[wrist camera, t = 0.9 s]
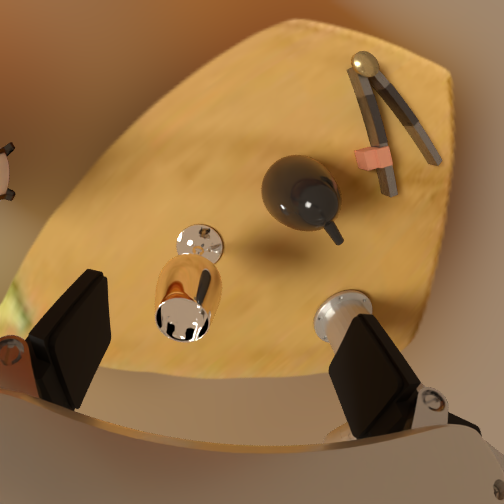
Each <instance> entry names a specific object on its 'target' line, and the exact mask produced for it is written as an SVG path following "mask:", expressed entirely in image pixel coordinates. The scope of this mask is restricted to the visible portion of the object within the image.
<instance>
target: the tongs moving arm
mask: <svg viewBox="0 0 504 504" xmlns="http://www.w3.org/2000/svg"><path fill="white" fill-rule="evenodd" d="M368 80H369V83H370V84H371V86H372V87H373V88H374V89H375V90H376V91H377V93H378V94H379V95H380V96H381V97H382V99H383V100H384V101H385V102H386V104H387V105H388V106H389V107H390V109H391V110H392V111H393V113H394V114H395V115H396V117H397V118H398V119H399V121H400V122H401V123H402V125H403V126H404V127H405V129H406V130H407V132H408V133H409V135H410V136H411V138H412V139H413V140H414V142H415V143H416V145H417V146H418V148H419V150H420V151H421V153H422V154H423V156H424V157H425V159H426V161H427V162H428V164H432V165H436V166H438V165H439V164H440V163H441V162H442V159H441V157H440V155H439V153H438V152H437V150H436V148H435V147H434V145H433V143H432V142H431V140H430V138H429V137H428V135H427V134H426V132H425V131H424V129H423V127H422V126H421V124H420V123H419V120H418V119H417V118H416V116H415V115H414V113H413V112H412V110H411V109H410V108H409V106H408V105H407V103H406V102H405V101H404V99H403V98H402V97H401V95H400V94H399V93H398V92H397V90H396V89H395V88H394V86H393V85H392V84H391V83H389V81H388V80H387V79H386V78H385V76H384V75H383V74H382V73H381V72H380V71H378V73H377V74H376V75H375V76H372V77H369V78H368Z"/></svg>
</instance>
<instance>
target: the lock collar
mask: <svg viewBox="0 0 504 504" xmlns="http://www.w3.org/2000/svg"><path fill="white" fill-rule="evenodd" d="M354 152H355V156H356V159H357V163H358V167H359V168H360V169H364V170H367V171H369V170H372V169H376V168H384V167H387V166H391V165H393V162H392V158H391V153H390V149H389V146H385V147H381V148H377V147H367V148H363V149H359V150H356V151H354Z"/></svg>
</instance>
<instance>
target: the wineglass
mask: <svg viewBox="0 0 504 504" xmlns="http://www.w3.org/2000/svg"><path fill="white" fill-rule="evenodd" d="M176 248H177V252H178V256H176V257H173V258H172V259H170V260H169V261H168V262H167V263H166V264H165V266H164V267H163V268H162V270H161V272H160V274H159V277H158V281H157V285H156V292H155V321H156V325H157V327H158V328H159V330H160V331H161V332H162V333H163V334H164V335H165V336H167V337H168V338H170V339H172V340H175V341H178V342H193V341H196V340H199V339H200V338H202V337H203V336H204V335H205V334H206V333H207V332H208V330H209V327H210V325H211V323H212V321H213V319H214V316H215V314H216V311H217V309H218V306H219V303H220V300H221V294H222V280H221V276H220V273H219V271H218V269H217V268H216V266H215V265H214V263H216V262H217V261H218V259H219V258H220V256H221V253H222V249H223V246H222V241H221V238H220V236H219V235H218V233H217V232H216V231H215V230H214V229H212V228H210V227H209V226H206V225H200V224H198V225H192V226H189V227H187V228H185V229H184V230H183V231H182V232H181V233H180V235H179V236H178V239H177V243H176Z"/></svg>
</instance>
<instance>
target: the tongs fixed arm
mask: <svg viewBox="0 0 504 504" xmlns="http://www.w3.org/2000/svg"><path fill="white" fill-rule="evenodd" d="M351 64H352V68H350V69H348V70H347V73H348V75H349V78H350V81H351V83H352V86H353V89H354V92H355V95H356V98H357V101H358V104H359V107H360V110H361V113H362V116H363V120H364V123H365V126H366V130H367V133H368V137H369V141H370V145H371V147H377V148H381V147H385V146H388V144H387V142H388V141H387V137H386V134H385V130H384V126H383V122H382V119H381V115H380V112H379V109H378V105H377V102H376V99H375V96H374V94H373V92H372V89H371V86H370V83H369V80H368V78H369V77H372V76H375V75H376V74H377V73H378V71H379V64H378V61H377V59H376V58H375V57H374V56H373V55H372V54H370V53H369V52H366V51H360V52H358V53H356V54H354V55H353V57H352V59H351ZM376 169H377V174H378V178H379V183H380V188H381V193H382V194H384V195H386V196H389V197H393V196H395V195H398V193H397V187H396V181H395V176H394V171H393V166H392V165H391V166H387V167H384V168H376Z"/></svg>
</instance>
